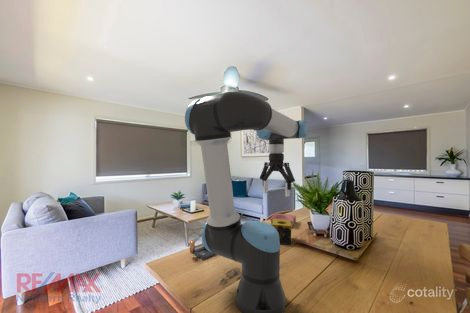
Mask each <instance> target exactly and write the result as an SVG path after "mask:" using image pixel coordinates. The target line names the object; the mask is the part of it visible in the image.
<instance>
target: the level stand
mask: <svg viewBox="0 0 470 313" xmlns="http://www.w3.org/2000/svg"><path fill="white" fill-rule="evenodd" d="M200 246H202V243H200V244H198V245H195V248H197V247H200ZM191 254H193V255H194V256H196V257H197V258H199V259H200V260H206V259H207V258H210V257H212V256H215V255H216V254H213V253H212V252H210V251H208V250H207V249H202V250H199V251H196V252H195V253H191Z"/></svg>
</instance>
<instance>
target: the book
mask: <svg viewBox="0 0 470 313" xmlns="http://www.w3.org/2000/svg"><path fill="white" fill-rule="evenodd" d="M273 219H281V220H290V223H291V230H293V229H294V227H293V226H295V225H294V224H296V221H297V220H296V219H297V218H296V215H295V214H284V213H274V214H273V215H272V216H271V217H270V218H269V220H270V225H271V226H272V225H273ZM292 228H293V229H292Z"/></svg>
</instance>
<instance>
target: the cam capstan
mask: <svg viewBox="0 0 470 313" xmlns="http://www.w3.org/2000/svg"><path fill="white" fill-rule="evenodd" d="M201 244H202V246H200V247H197V248H195V246H196V241H195V240H190V241H189V253H190V254H192V253H195V252H196V251H199V250H202V249H206V248H205V247H204V245H203V242H202V241H201Z"/></svg>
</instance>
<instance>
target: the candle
mask: <svg viewBox="0 0 470 313" xmlns="http://www.w3.org/2000/svg"><path fill="white" fill-rule="evenodd" d="M272 226H273V227H274V228H275V229H276V230H277V231H278V233H279V241H280V245H289V246H290V245H292V229H291V223H290V220H281V219H273V225H272Z"/></svg>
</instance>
